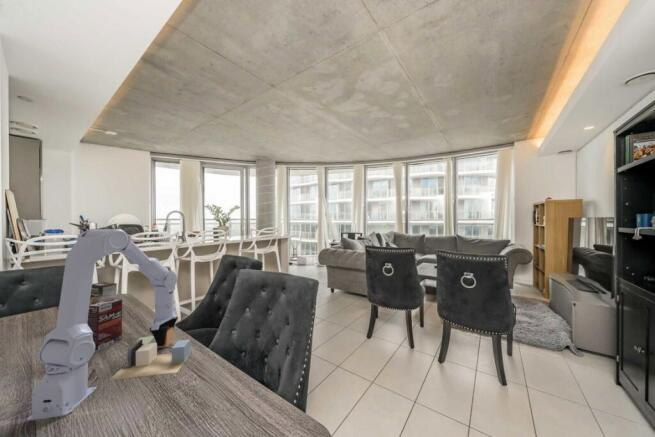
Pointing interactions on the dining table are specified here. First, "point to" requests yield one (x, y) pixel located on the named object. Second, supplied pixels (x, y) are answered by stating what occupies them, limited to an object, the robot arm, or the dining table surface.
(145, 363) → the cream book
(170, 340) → the terracotta cube
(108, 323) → the supplement box
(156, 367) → the shelf board
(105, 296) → the coffee box
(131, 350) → the bookend
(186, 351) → the blue-grey block
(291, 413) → the dining table surface
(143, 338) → the flat book
